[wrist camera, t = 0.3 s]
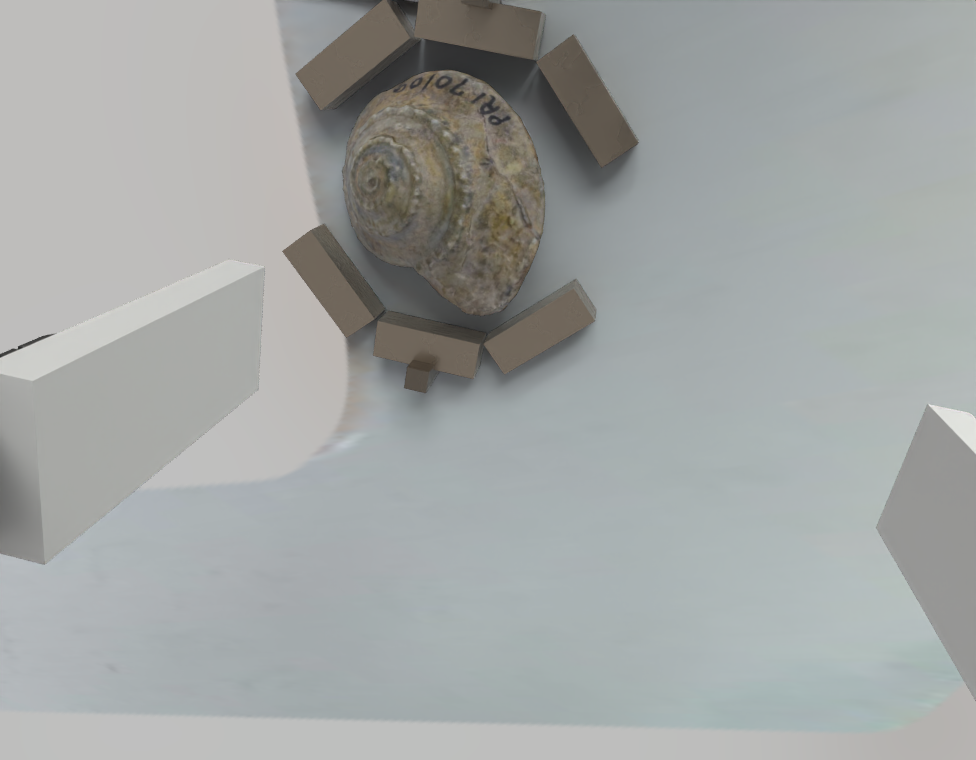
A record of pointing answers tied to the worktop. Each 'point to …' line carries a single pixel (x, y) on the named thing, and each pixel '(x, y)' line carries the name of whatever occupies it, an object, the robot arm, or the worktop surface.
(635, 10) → the worktop surface
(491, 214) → the fossilized seashell
